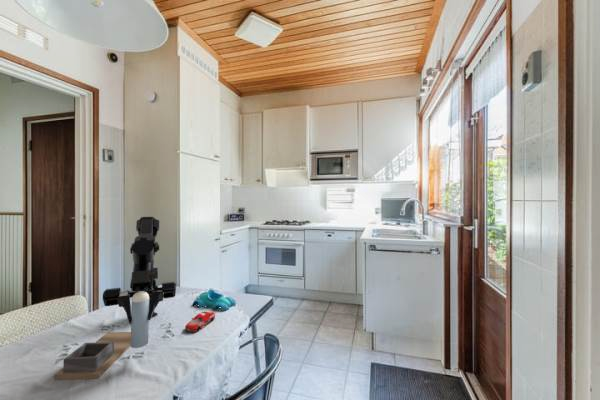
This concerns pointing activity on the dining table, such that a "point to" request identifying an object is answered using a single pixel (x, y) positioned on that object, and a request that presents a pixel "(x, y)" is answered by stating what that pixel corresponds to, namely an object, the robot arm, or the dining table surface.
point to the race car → (200, 321)
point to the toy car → (214, 300)
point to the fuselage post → (139, 319)
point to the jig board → (94, 357)
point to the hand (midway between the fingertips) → (139, 321)
